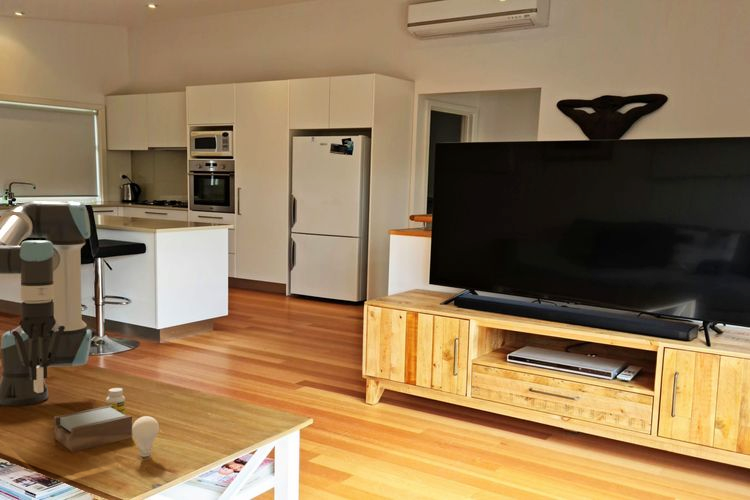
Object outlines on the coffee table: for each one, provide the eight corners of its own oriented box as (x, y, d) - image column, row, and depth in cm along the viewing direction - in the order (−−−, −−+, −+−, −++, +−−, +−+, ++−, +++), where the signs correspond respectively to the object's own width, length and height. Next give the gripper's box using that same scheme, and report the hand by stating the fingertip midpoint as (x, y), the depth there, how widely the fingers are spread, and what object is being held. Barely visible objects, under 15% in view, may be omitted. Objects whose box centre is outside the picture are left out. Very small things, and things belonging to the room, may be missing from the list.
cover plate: (60, 424, 185) (60, 417, 185) (110, 413, 195) (110, 407, 195) (74, 434, 179) (74, 427, 178) (125, 422, 188) (125, 415, 188)
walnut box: (54, 441, 186) (54, 416, 186) (111, 428, 198) (111, 405, 197) (73, 455, 177) (72, 429, 177) (132, 441, 188) (131, 416, 188)
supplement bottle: (118, 425, 200) (118, 392, 200) (101, 423, 201) (101, 391, 201) (128, 419, 206) (128, 387, 205) (112, 417, 207) (112, 386, 206)
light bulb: (135, 453, 180) (135, 412, 179) (161, 453, 181) (161, 412, 180) (128, 463, 173) (128, 421, 173) (155, 462, 174) (155, 421, 173)
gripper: (14, 305, 167) (16, 399, 169) (69, 300, 176) (70, 390, 178) (4, 301, 172) (6, 392, 174) (58, 297, 181) (59, 384, 183)
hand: (38, 391), depth 176 cm, fingers closed
